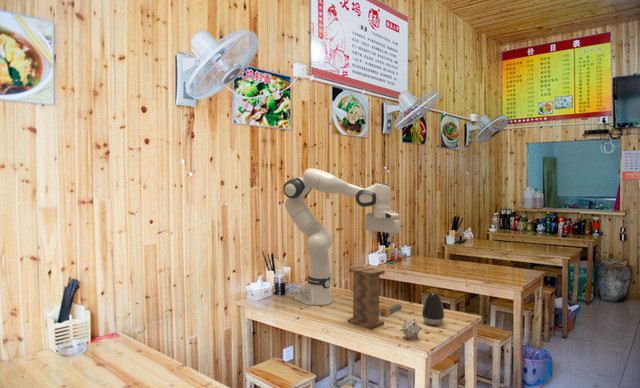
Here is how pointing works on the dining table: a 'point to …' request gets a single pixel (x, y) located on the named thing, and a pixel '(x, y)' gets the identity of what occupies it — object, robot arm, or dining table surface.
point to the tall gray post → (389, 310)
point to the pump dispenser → (433, 309)
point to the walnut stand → (366, 297)
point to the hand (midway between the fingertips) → (381, 240)
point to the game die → (411, 329)
